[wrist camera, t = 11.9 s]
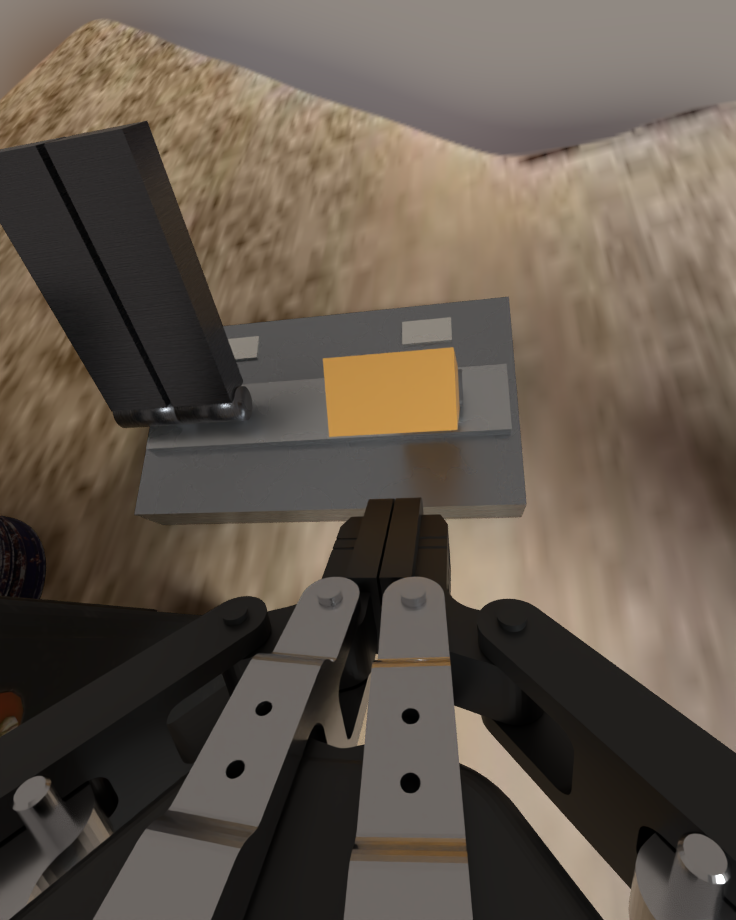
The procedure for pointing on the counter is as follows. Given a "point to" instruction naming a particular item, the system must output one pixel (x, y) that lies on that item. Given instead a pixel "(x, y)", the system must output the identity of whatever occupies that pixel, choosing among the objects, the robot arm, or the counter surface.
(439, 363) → the lever
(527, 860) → the robot arm
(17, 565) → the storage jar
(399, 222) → the counter surface
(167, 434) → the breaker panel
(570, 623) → the counter surface
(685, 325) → the counter surface
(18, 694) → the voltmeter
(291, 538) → the counter surface
